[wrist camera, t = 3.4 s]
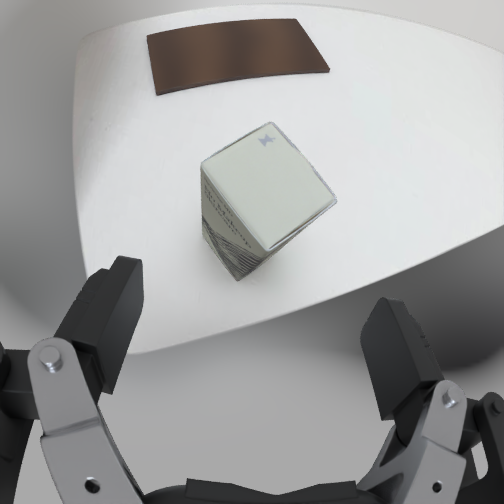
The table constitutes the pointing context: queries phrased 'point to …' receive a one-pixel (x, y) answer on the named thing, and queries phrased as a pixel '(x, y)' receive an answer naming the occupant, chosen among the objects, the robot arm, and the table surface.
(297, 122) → the table surface
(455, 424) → the robot arm
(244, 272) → the box
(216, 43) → the walnut board
